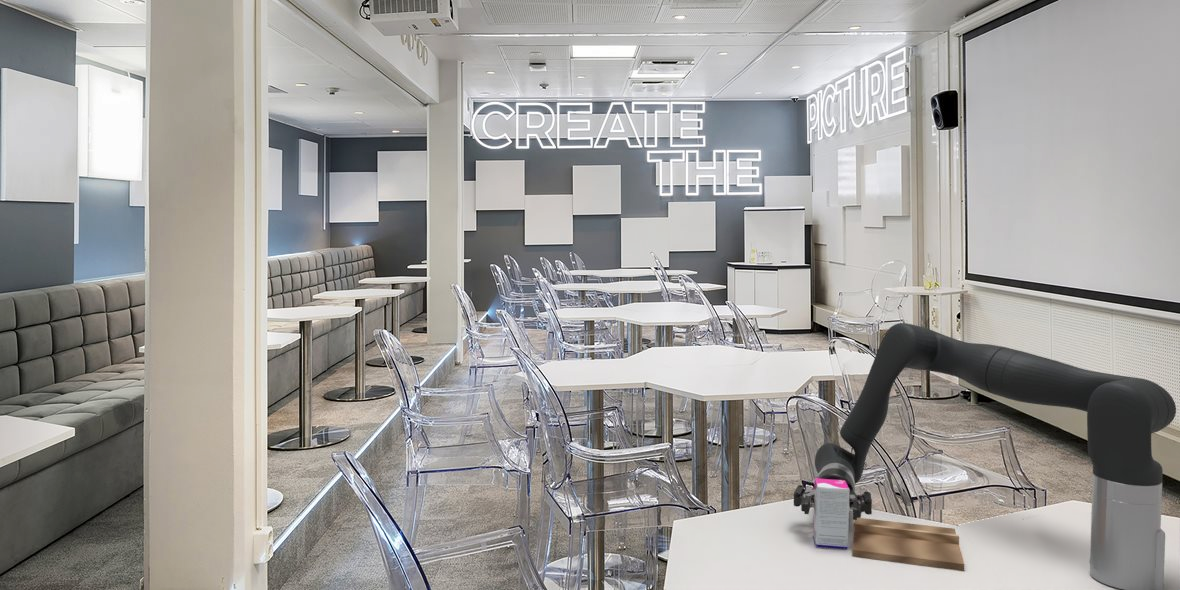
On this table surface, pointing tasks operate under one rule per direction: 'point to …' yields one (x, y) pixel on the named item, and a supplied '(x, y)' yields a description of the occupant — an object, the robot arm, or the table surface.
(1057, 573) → the table surface
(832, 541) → the supplement box
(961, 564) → the tan wooden board
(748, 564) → the table surface
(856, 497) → the robot arm
